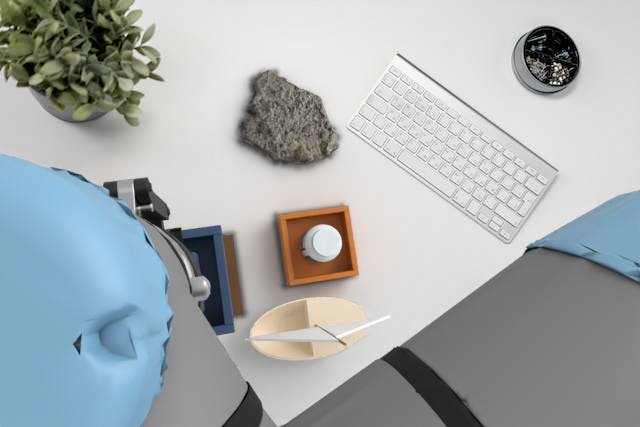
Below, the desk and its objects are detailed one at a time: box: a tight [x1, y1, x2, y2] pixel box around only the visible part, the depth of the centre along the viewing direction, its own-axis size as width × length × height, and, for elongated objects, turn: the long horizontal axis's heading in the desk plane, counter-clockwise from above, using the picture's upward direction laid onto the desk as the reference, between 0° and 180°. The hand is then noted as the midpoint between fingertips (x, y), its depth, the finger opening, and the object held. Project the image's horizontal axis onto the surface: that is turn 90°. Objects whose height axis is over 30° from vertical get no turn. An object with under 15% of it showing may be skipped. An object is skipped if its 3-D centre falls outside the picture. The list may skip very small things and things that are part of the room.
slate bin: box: [182, 224, 244, 337], centre depth 63 cm, size 12×12×34 cm
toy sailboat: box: [244, 296, 391, 362], centre depth 69 cm, size 21×25×9 cm
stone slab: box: [240, 69, 340, 165], centre depth 83 cm, size 12×17×3 cm
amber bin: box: [276, 205, 360, 287], centre depth 81 cm, size 11×11×4 cm
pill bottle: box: [300, 224, 342, 263], centre depth 77 cm, size 5×5×10 cm
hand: (172, 286), depth 46 cm, fingers closed on slate block, 5 cm apart
